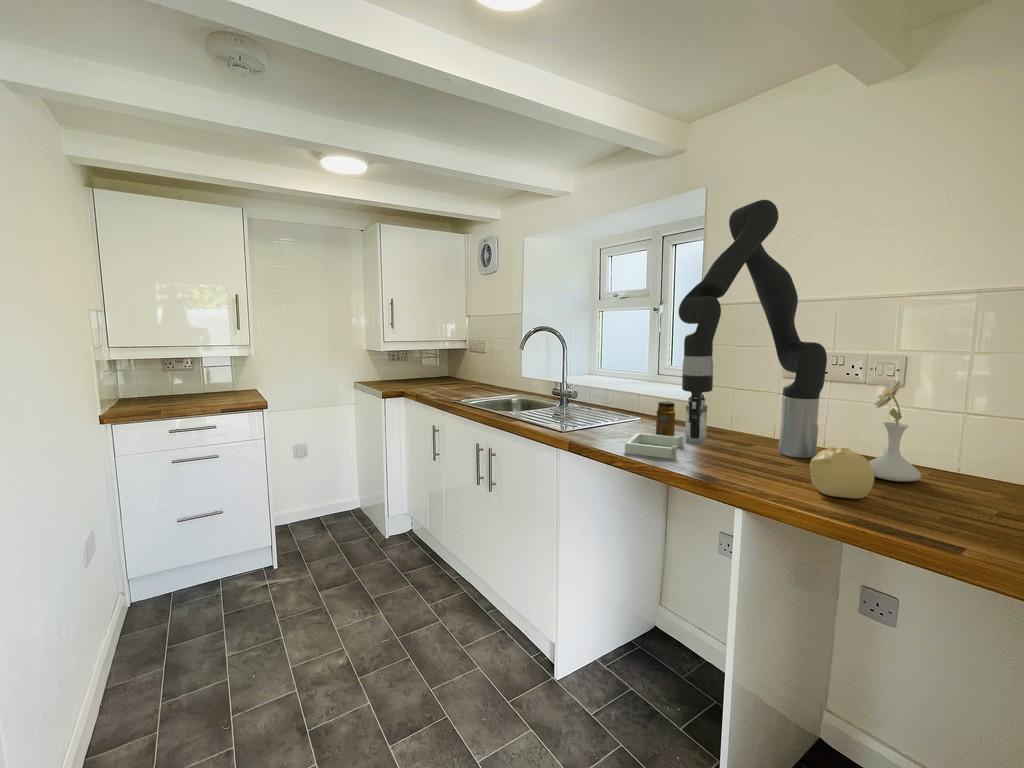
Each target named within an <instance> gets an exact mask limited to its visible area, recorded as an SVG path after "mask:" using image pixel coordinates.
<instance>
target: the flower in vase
mask: <svg viewBox="0 0 1024 768" xmlns="http://www.w3.org/2000/svg"><path fill="white" fill-rule="evenodd" d="M901 384H902V382H901V381H900V379H898V380H897V381H896V380H895V379H894V380H893V381H892V382H891V383H889V385H886V386H885V387H884V389H883V391H882V393H881V394H879V395H878V396H877V399H878V400H876V401H875V403H874V406H875V408H876V409H878V408H883V407H884V406H885V405H887V404H888V403H889V402H890V401H891V400H892V399H893V402H895V403H894V404H895V405H896V407H897V409H895V408H894V407H893V408H892V409H890V411H889V415H890V416H892V418H893V419H895V420H894V422H891V421H885V422H883V423H882V424H883V425H884V427H885V428H886V431H887V436H888V437H887V438H888V442H887V443H888V444H887V449H886V451H884V453H883V454H882V455H879V456H877V457H876V458H873V459H871V460H870V461H869V460H868V462H869V463H870V464H871V466H872V468H873V472H874V478H875V477H876V478H878V479H882V480H886V481H892V482H903V483H905V482H906V483H907V482H908V483H909V482H915V481H919V479H921V478H922V474H921V473H920V471H919V470H918V469H917V468H916V467H915V466H914V465H913V464H912V463H910V462H909V461H908V460H907V459H905V458H904V457H903V456H902V454H901V451H900V449H901V447H900V446H901V439H902V436H903V434H904V432H905V430H906V429H908V427H909V426H910V425H909V424H907V423H901V422H899V420H901V419H902V417H903V416H902V412H901V409H900V406H899V403H898V401H897V398H896V397H895V396H896V395H897V394H898V391H899V390H900V389H901Z"/></svg>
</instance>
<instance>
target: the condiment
mask: <svg viewBox="0 0 1024 768" xmlns="http://www.w3.org/2000/svg"><path fill="white" fill-rule="evenodd" d="M655 420H656V421H655V422H656V425H655V435H663V436H673V437H679V436H678V435H675V429H676V427H675V426H676V411H675V403H674V402H672V401H659V402H658V406H657V409H656V419H655Z"/></svg>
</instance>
